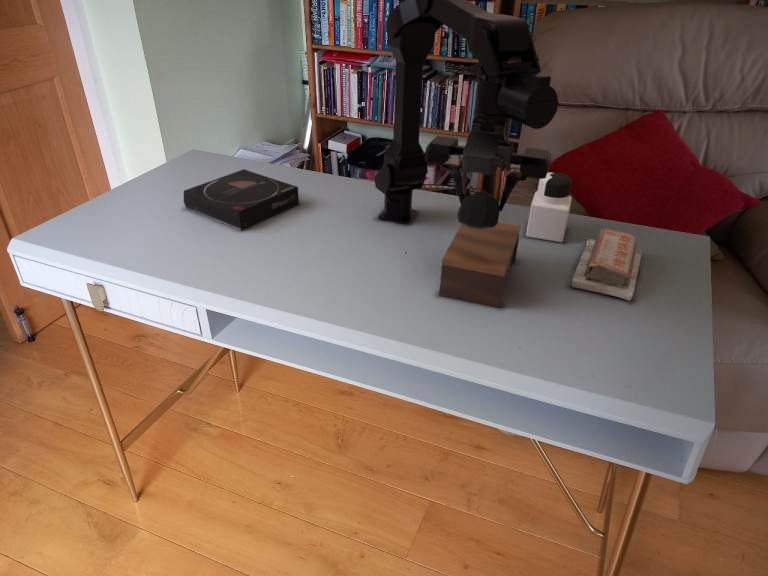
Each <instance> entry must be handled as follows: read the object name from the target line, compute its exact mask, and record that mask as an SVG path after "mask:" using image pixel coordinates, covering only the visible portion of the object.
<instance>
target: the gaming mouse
mask: <svg viewBox="0 0 768 576" xmlns="http://www.w3.org/2000/svg"><path fill="white" fill-rule="evenodd" d="M499 201H500V200H499V199H498V198H496V197H495V196H493V195H492V194H491V193H489V192H488V191H487V190H486V189H482V190H480V191H477V192H475V193H472V194H468V195H466V197H465V198H464V200H463V201H462V203H461V204H460V206H459V209H458V211H457V222H458V223H459V224H460V225H461V224H464V225H466V226H468V227H470V228H477V229H483V228H492V227H495V226H496V225H497V224H498V222H499V218H500V211H499V209H500V208H499V207H500V202H499Z"/></svg>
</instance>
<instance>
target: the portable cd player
mask: <svg viewBox="0 0 768 576" xmlns="http://www.w3.org/2000/svg"><path fill="white" fill-rule="evenodd" d="M299 199H300V198H299V186H296V185H293V184H290V183H287V182H283V181H281V180H278V179H275V178H272V177H269V176H266V175H263V174H260V173H257V172H255V171H252V170H251V171H250V170H248V169H244V168H243V169H241V170H238V171H234V172H231V173H229V174H227V175H224V176H221V177H218V178H215V179H212V180H210V181H207V182H204V183H201V184H199V185H196V186H193V187H190V188H187V189H185V190H183V204H184V206H185V208H186V210H189V211H191V212H194V213H196V214H199V215H201V216H203V217H206V218H208V219H211V220H213V221H216V222H218V223H221V224H222V225H226V226H229V227H231V228H233V229H236V230H239V231H243V230H245V229H248V228H250V227H252V226H254V225H257V224H259V223H261V222H263V221H266V220H268V219H270V218H272V217H274V216H275V217H276V215H280V214H281V213H283V212H285V211H288V210H290V209H292V208H294V207H297V206H299V205H300V200H299Z"/></svg>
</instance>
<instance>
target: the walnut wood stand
mask: <svg viewBox="0 0 768 576" xmlns="http://www.w3.org/2000/svg"><path fill="white" fill-rule="evenodd" d="M521 230H522V226H521V225H518V224H512V223H506V222H500V221H498V224H497V225H496V226H495V227H492V228H483V229H477V228H470V227H468V226H466V225H464V224H461V223H460V226H459V228H458V230H457V231H456V232H455V235H454V237H453V239H452V241H450V244H449V245H448V248H447V249H446V251H445V253H444V255H443V256H442V260H441V269H440V281H439V292H438V296H439V297H444V298H450V299H453V300H459V301H462V302H468V303H473V304H479V305H483V306H488V307H491V308H492V307H493V308H498V309H499V308H500V307H501V305H502V299H503V293H504V292H503V291H504V285H505V281H506V278H507V275H508V272H509V269H510V266H511V264H512V263H513V264H515V262H516V260H517V253H518V248H519V241H520V236H521V235H520V234H521Z"/></svg>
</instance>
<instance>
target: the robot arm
mask: <svg viewBox="0 0 768 576" xmlns="http://www.w3.org/2000/svg"><path fill="white" fill-rule="evenodd" d="M443 26H446V27H447V28H449V29H450V30H451V31H453V32H454V33H456V34H457V35H459V36H460V37H462V38H463V39H465V41H466V42H467V49H468V51H469V52H470V54H472V56H473V57H474V58H475V59H476V60H477V62H476V63H475V64H474V65H472V66H471V67H470V68H469V73H470V74H472V75H475V76H477V78H476V88H475V99H474V105H473V106H474V107H473V114H472V117H473V118H472V122H471V123H472V124H471V129H470V131H469V134H468V136H467V138H466V143H465V145H459V138H457V137H450V136H443V135H436V136H435V137H434V138H433V139H432V140H431V141H430V142H429V143H428V144H427V145H426V147H425V150H424V149H423V147H422V145H421V144H420V129H421V114H422V113H421V112H422V97H423V96H422V95H423V94H422V93H423V80H424V79H423V77H424V65H425V62H426V59H428V57H429V55H430V53H431V51H432V50H433V49H434V46H435V39H436V33H437V32H438V31H439V30H440V29H441V28H442V27H443ZM385 31H386V35H387V36H386V37H387V38H386V39H387V46H388V48H389V50H390V52H391V54H392V55H393V56H392V57H393V58H394V60H395V81H394V83H395V84H394V109H393V111H394V112H393V137H392V141H391V142H390V144H389V146H388V147H387V149H386V151H385V152H384V155H383V163H382V167H381V169H379V171H378V172H377V173H376V174H375V176H374V178H373V179H374V186H375V189H377V190H378V191H380V193H382V194H383V196H384V197H383V200H384V201H383V210H382V211H381V212H380V214H379V215H378V216H377V219H378V220H381V221H388V222H393V223H399V224H405V225H407V224H408V225H409V223H410V222H411V221H412V219H413V218H414V216H415V215H416V214H417V210H416V209H413V194H414V193H413V192H414V191H415V190H422V189H423V187H424V183H425V181H426V178H427V174H429V169H428V164H436V165H441V168H442V169H443V170H446V171H447V172H449V174H450V175H451V178H452V179H453V181H454V184H455V187H456V192H457V195H458V200H459V203H460V205H461V203H462V201H463V200H464V198H465V197H467V184H468V183H467V181H468V180H467V179H468V174H471V173H475V174H482V175H484V176H492V175H494V174H495V173H496V171H497V168H503V167H506V168H509V167H510V169H509V171H508V173H507V175H506V179H505V183H504V188H503V191H502V195H501V198H500V200H499V201H500V202H499V205H500V207H499V208H500V209H499V212H502V211H503V210H504V208H505V206H506V203H507V201H508V199H509V198H510V195H511V193H512V192H513V190H514V189H515V187H516V186H517V184H518V183H519V182H520V181H521V182H526V181H527V180H528V178H533V179H539V180H540V179H543V178H546V175H547V173H549V169H550V167H551V161H552V160H551V159H552V153H551V151H550V150H548V149H541V148H535V147H528V146H527V147H525V149H524V151H523V153H517V152H514V142H513V141H510V133H511V127H512V121H514V122H517V123H519V124H521V125H524V126H526V127H528V128H531V129H535V130H539V129H542V128H545V127H546V126H548V125H549V124H550V123H551V122H552V120H553V119H554V118H555V116H556V114H557V111H558V108H559V104H560V103H559V99H558V94H557V91H556V90H555V88H554V87H552V86H551V81H552V77H551V75H547V74H541V71H542V69H541V66H540V63H539V62H540V58H539V57H538V54H537V51H536V47H535V44H534V39H533V37H532V34H531V31H530V25H529V23H528V22H527V20H526V19H524V18H522V17H518V16H513V15H509V14H502V13H501V14H500V13H493V12H490V11H487V10H485V9H484V8H482V7H480V6H479V5H477V4H476V3H474V2H472V1H470V0H403V1H402V2H400V3H398V4H396V6H395V7H394V8H393V9H392V11H391V12H390V13H389V14H388V15H387V17H386V21H385ZM413 190H414V191H413Z"/></svg>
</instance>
